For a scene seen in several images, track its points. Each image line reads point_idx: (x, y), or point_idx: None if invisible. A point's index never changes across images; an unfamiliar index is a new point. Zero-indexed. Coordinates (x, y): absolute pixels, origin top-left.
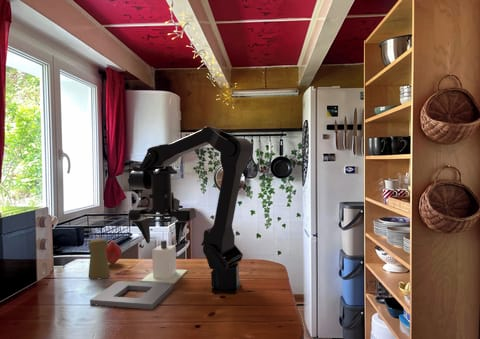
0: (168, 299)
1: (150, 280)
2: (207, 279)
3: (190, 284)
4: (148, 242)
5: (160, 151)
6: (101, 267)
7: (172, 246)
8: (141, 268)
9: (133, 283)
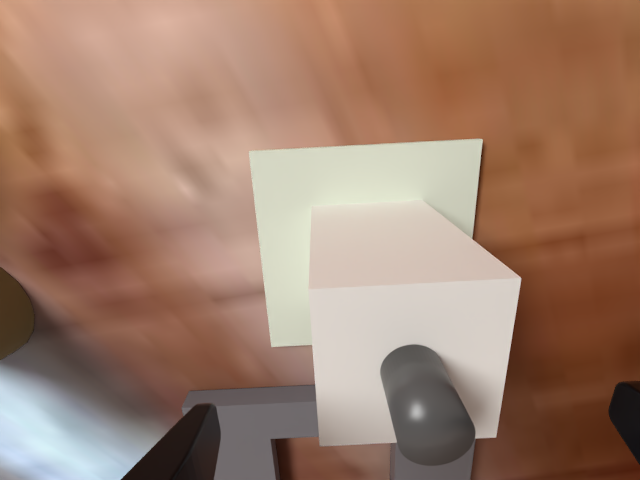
0: (485, 458)
1: None
2: (631, 247)
3: (545, 323)
4: (218, 439)
5: None
6: None
7: (493, 312)
8: (124, 142)
9: (280, 419)
